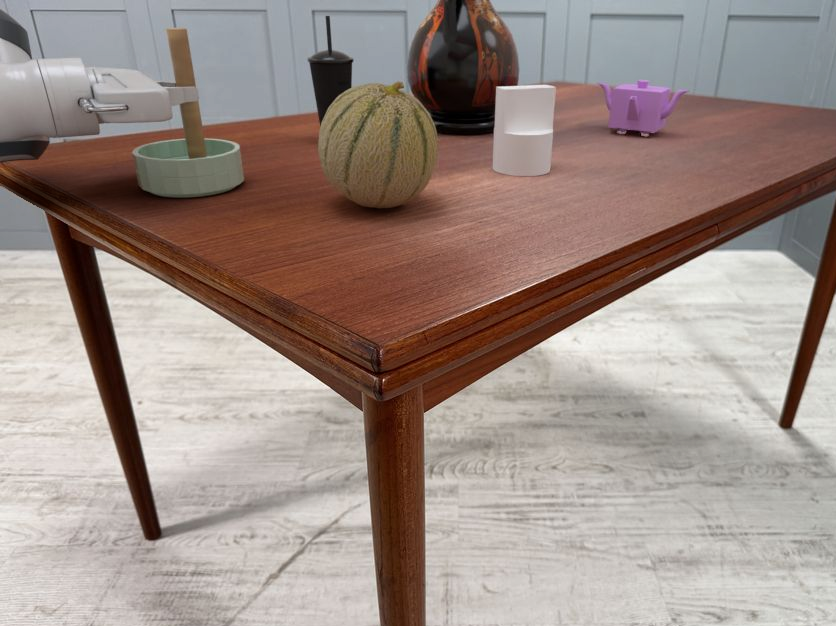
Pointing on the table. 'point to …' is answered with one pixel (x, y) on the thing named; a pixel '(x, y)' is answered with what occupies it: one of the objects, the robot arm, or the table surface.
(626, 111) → the teapot
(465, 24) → the amphora vase
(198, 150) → the stirring stick
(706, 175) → the table surface
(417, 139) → the cantaloupe
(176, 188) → the bowl
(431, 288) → the table surface
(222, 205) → the table surface
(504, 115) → the base with upright slab
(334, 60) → the drinking cup
